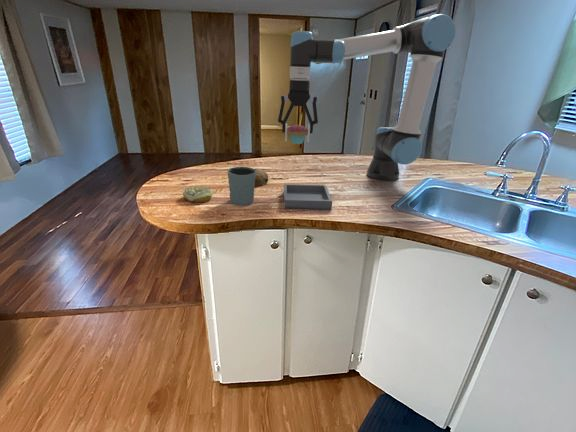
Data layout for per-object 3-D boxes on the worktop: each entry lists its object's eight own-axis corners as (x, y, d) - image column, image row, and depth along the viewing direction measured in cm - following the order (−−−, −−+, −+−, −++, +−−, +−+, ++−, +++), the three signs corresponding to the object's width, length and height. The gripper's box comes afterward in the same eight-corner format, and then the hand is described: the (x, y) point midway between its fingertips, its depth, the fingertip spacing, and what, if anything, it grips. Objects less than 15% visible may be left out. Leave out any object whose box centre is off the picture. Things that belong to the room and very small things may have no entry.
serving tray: (325, 193, 126) (325, 185, 125) (331, 210, 111) (332, 201, 109) (283, 192, 126) (284, 184, 124) (284, 209, 110) (284, 200, 109)
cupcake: (311, 142, 126) (312, 111, 121) (300, 146, 119) (301, 113, 114) (293, 139, 130) (294, 109, 125) (281, 143, 123) (282, 111, 118)
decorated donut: (189, 206, 110) (188, 196, 109) (180, 196, 118) (179, 187, 116) (216, 200, 116) (216, 191, 114) (206, 192, 124) (205, 183, 122)
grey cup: (232, 195, 120) (230, 165, 115) (257, 196, 120) (257, 167, 115) (226, 206, 111) (224, 174, 106) (254, 207, 111) (253, 175, 106)
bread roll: (260, 194, 132) (268, 179, 129) (239, 183, 132) (246, 167, 128) (266, 187, 141) (273, 172, 137) (246, 176, 141) (253, 161, 137)
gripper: (270, 78, 111) (270, 142, 121) (329, 81, 111) (324, 143, 121) (271, 78, 118) (271, 138, 128) (326, 80, 118) (322, 140, 128)
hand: (296, 141), depth 124 cm, fingers closed on cupcake, 8 cm apart
